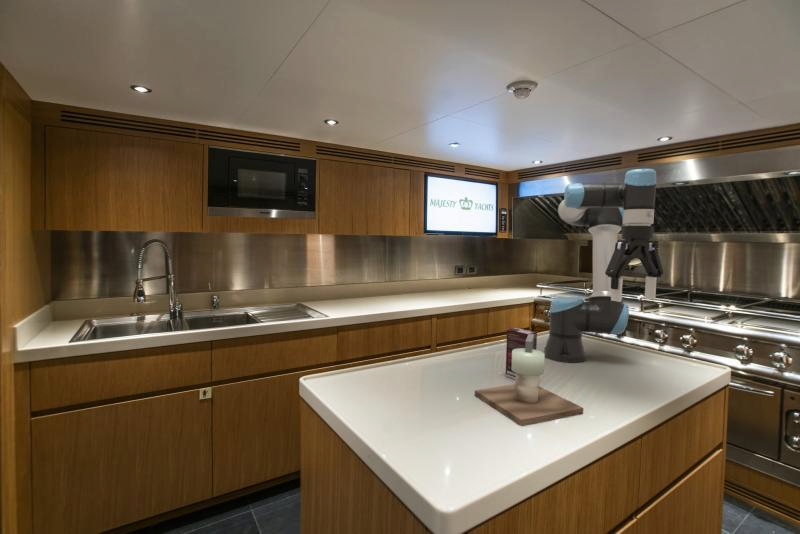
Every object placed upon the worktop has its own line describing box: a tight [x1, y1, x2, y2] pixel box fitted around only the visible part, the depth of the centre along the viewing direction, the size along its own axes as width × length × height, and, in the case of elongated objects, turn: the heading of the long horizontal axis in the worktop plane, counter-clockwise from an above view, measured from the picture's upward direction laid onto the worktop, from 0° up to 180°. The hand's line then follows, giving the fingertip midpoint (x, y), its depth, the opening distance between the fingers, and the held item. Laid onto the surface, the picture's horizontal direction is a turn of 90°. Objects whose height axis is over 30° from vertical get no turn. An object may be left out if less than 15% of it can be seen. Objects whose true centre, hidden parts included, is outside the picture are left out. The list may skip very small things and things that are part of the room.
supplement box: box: [505, 327, 538, 381], centre depth 127 cm, size 9×5×16 cm, turn 35°
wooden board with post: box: [474, 373, 584, 427], centre depth 107 cm, size 20×20×9 cm
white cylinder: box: [511, 334, 546, 377], centre depth 109 cm, size 14×8×8 cm, turn 158°
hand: (633, 300), depth 112 cm, fingers open, 13 cm apart
